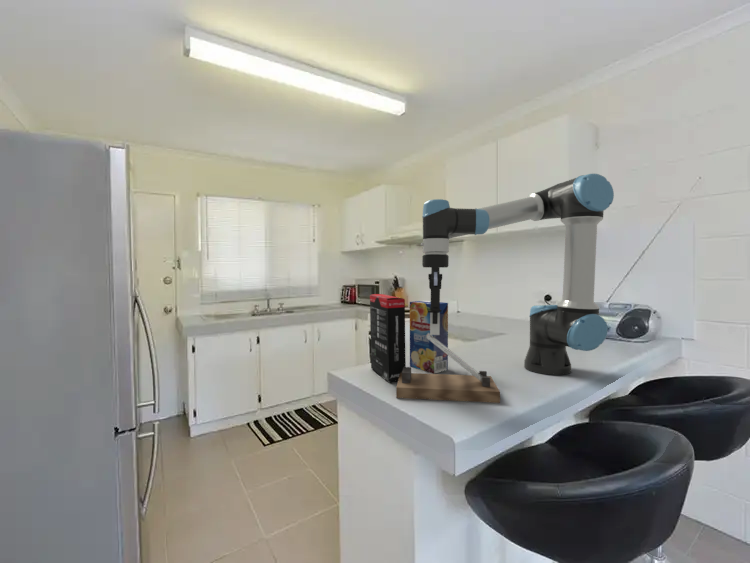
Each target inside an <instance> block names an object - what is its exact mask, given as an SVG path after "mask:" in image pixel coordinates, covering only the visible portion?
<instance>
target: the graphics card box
mask: <svg viewBox="0 0 750 563" xmlns="http://www.w3.org/2000/svg"><path fill="white" fill-rule="evenodd" d="M405 305H406V300H405V298H402V297H398V296H394V295H393V296H392V295H388V294H382V293H374V294H373V293H372V294H369V317H370V318H369V320H370V321H369V322H370V363H371V364H370V367H371V369H372V370H373V371H374V372H375V373H377V374H378V375H379V376H380V377H382V378H383V379H384V380H385V381H386V382H388V383H394V382H398V379H399V375H400V373H402V371H403V367H407V365H406V362H407V361H406V306H405Z"/></svg>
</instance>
